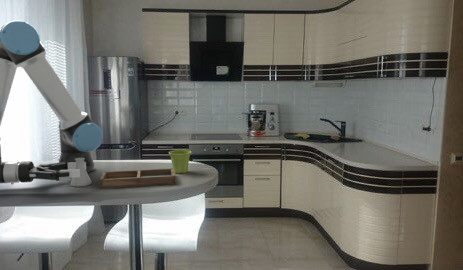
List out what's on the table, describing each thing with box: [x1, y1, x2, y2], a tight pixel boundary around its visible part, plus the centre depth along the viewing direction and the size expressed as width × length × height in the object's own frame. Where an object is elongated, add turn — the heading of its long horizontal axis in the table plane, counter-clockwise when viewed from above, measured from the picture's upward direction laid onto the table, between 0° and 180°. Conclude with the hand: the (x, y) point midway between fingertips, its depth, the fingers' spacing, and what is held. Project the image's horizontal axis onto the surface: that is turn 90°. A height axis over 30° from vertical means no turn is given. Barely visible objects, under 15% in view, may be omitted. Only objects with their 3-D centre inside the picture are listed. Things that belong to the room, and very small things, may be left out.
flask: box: [69, 158, 92, 188], centre depth 141 cm, size 7×7×10 cm
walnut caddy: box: [99, 167, 177, 189], centre depth 146 cm, size 14×27×3 cm, turn 103°
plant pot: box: [168, 149, 192, 174], centre depth 162 cm, size 9×9×9 cm
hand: (83, 169), depth 140 cm, fingers open, 13 cm apart
